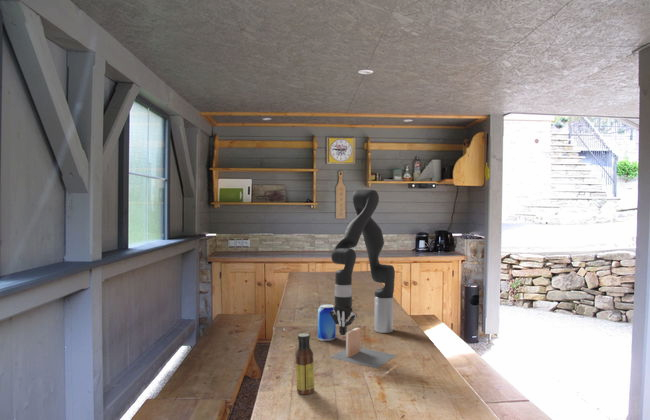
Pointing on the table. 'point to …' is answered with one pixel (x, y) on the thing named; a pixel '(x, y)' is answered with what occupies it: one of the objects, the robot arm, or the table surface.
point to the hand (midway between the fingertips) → (342, 334)
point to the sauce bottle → (304, 366)
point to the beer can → (326, 323)
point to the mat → (366, 357)
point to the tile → (352, 342)
